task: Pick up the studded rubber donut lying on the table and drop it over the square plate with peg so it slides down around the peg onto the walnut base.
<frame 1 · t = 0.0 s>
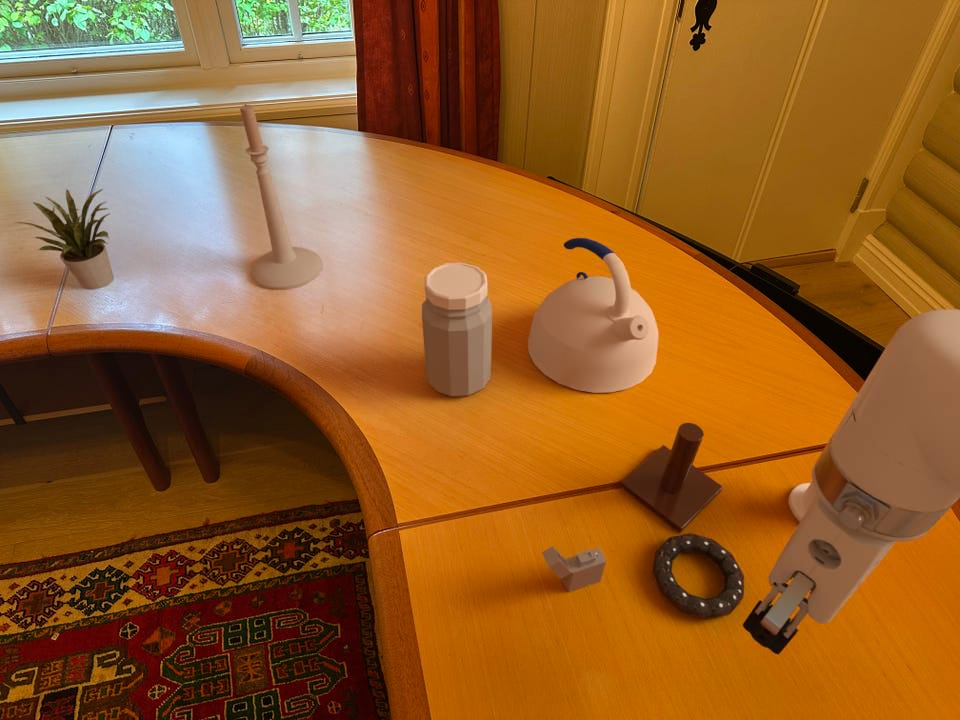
hand: (790, 600, 52), 13 cm above the table, tool pointing down, fingers open, 9 cm apart
house plant: (106, 279, 110), on the table
jar: (458, 379, 91), on the table
studded rubber donut: (697, 574, 67), point 1 cm above the table
square plate with peg: (670, 488, 76), on the table
kettle: (591, 350, 96), on the table
candlestick: (287, 270, 112), on the table
lighter: (569, 584, 67), on the table
candle: (818, 510, 74), on the table
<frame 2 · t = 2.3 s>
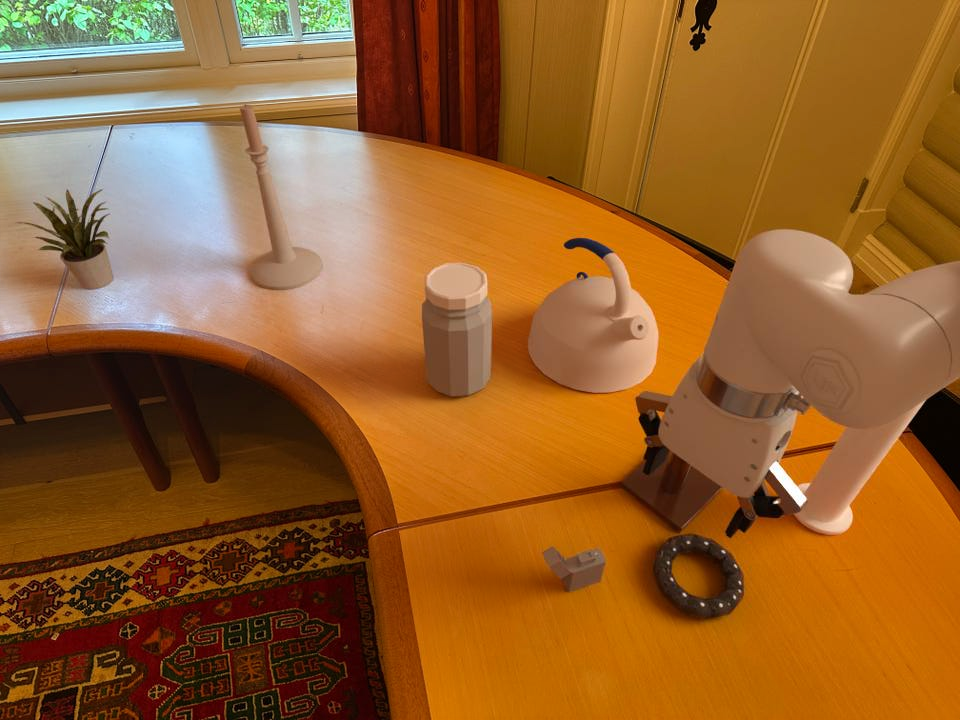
hand: (692, 496, 61), 12 cm above the table, tool pointing down, fingers open, 9 cm apart
nothing on the table moved.
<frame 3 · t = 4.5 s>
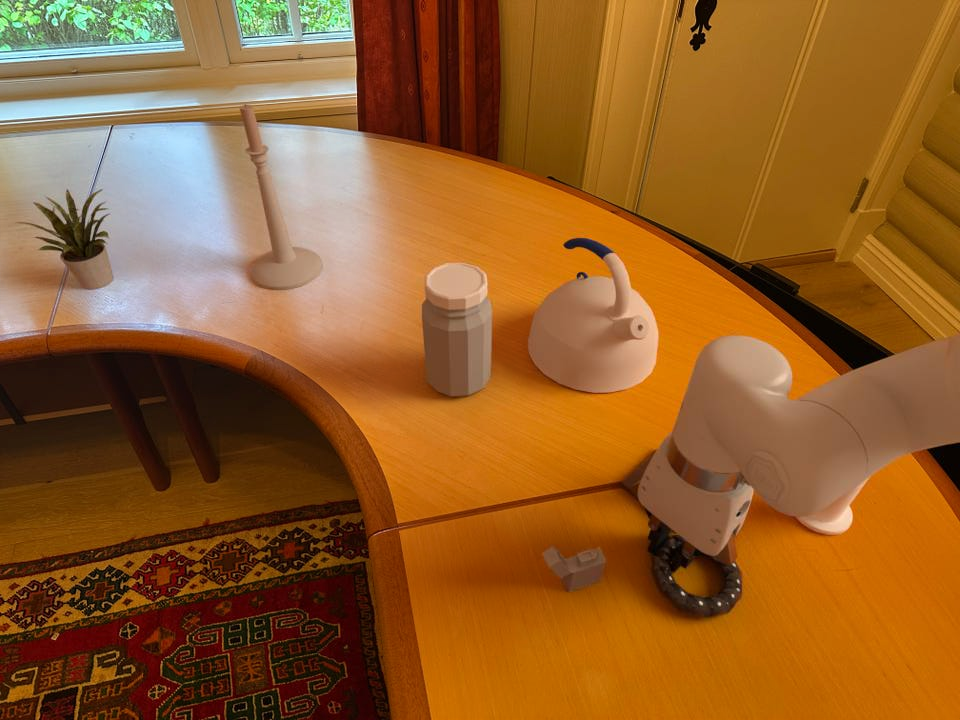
hand: (667, 553, 69), 0 cm above the table, tool pointing down, fingers closed on studded rubber donut, 2 cm apart
studded rubber donut: (696, 573, 67), point 1 cm above the table, touching gripper
everything else where it was.
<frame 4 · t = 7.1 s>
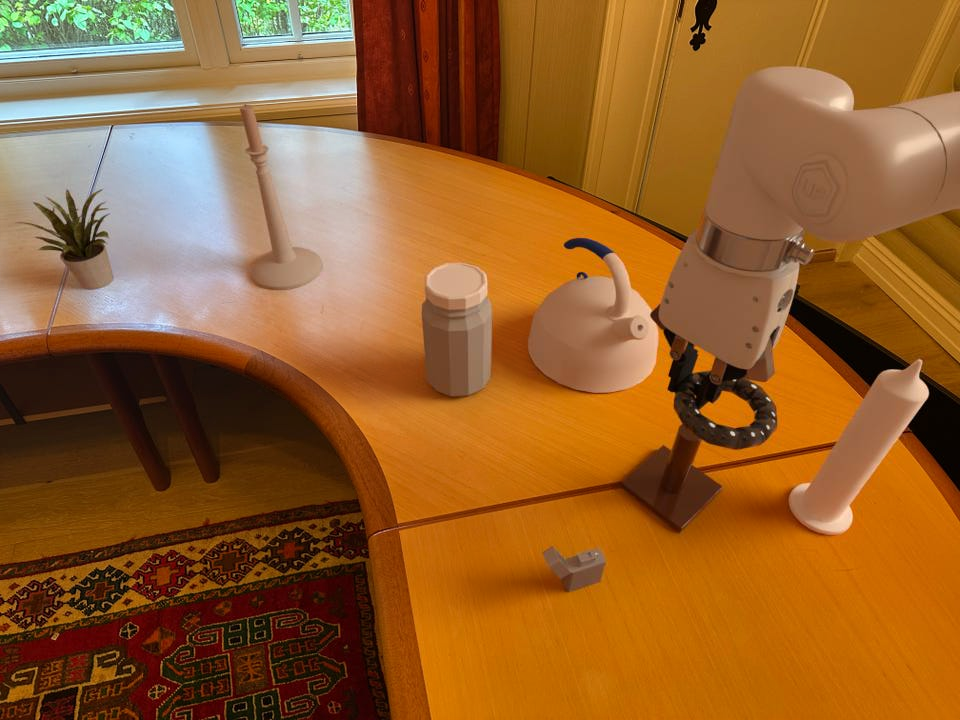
hand: (691, 392, 62), 20 cm above the table, tool pointing down, fingers closed on studded rubber donut, 2 cm apart
studded rubber donut: (724, 407, 59), point 20 cm above the table, touching gripper
everything else where it was.
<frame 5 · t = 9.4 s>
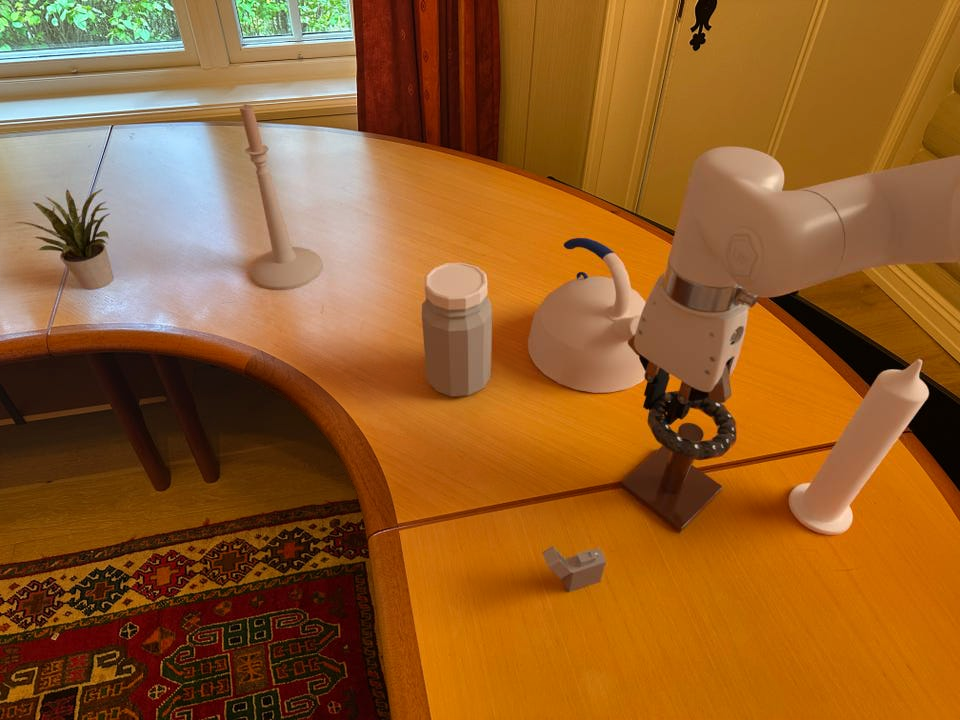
hand: (663, 409, 71), 12 cm above the table, tool pointing down, fingers closed on studded rubber donut
studded rubber donut: (691, 423, 68), point 12 cm above the table, touching gripper
everything else where it was.
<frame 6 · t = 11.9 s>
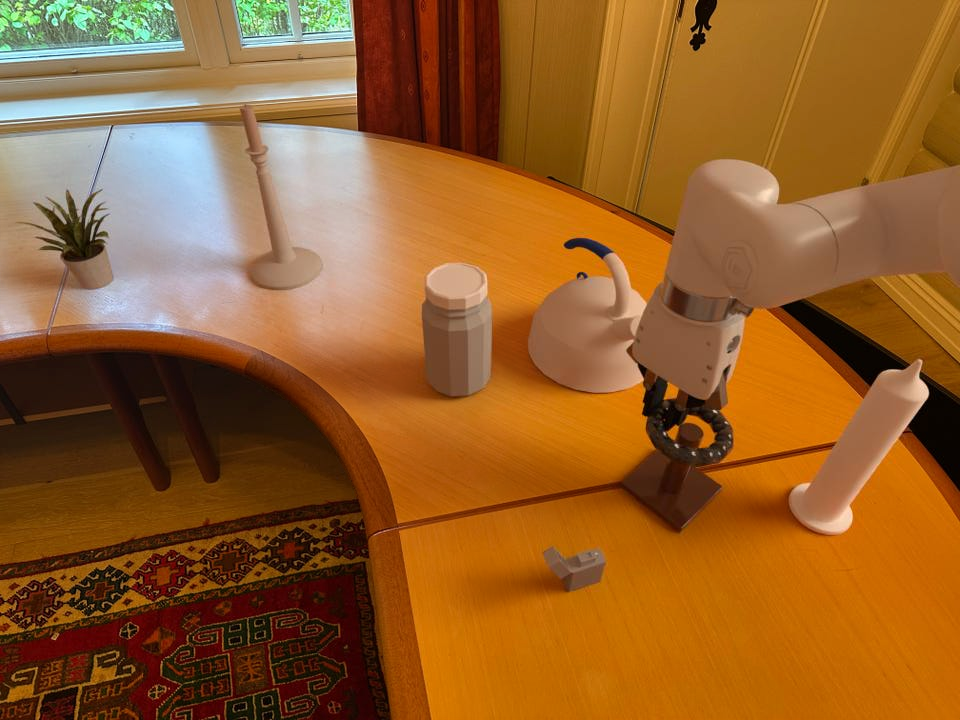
hand: (661, 416, 71), 10 cm above the table, tool pointing down, fingers closed on studded rubber donut
studded rubber donut: (689, 430, 69), point 11 cm above the table, touching gripper
everything else where it was.
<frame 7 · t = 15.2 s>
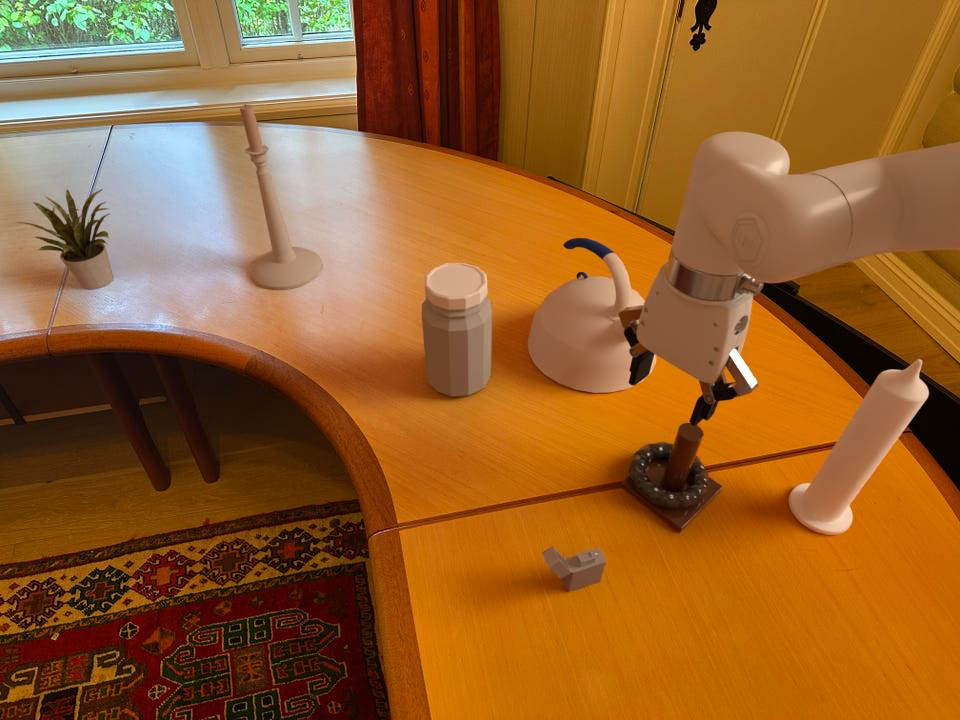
hand: (668, 397, 69), 14 cm above the table, tool pointing down, fingers open, 7 cm apart
studded rubber donut: (668, 474, 76), point 2 cm above the table, touching square plate with peg
everything else where it was.
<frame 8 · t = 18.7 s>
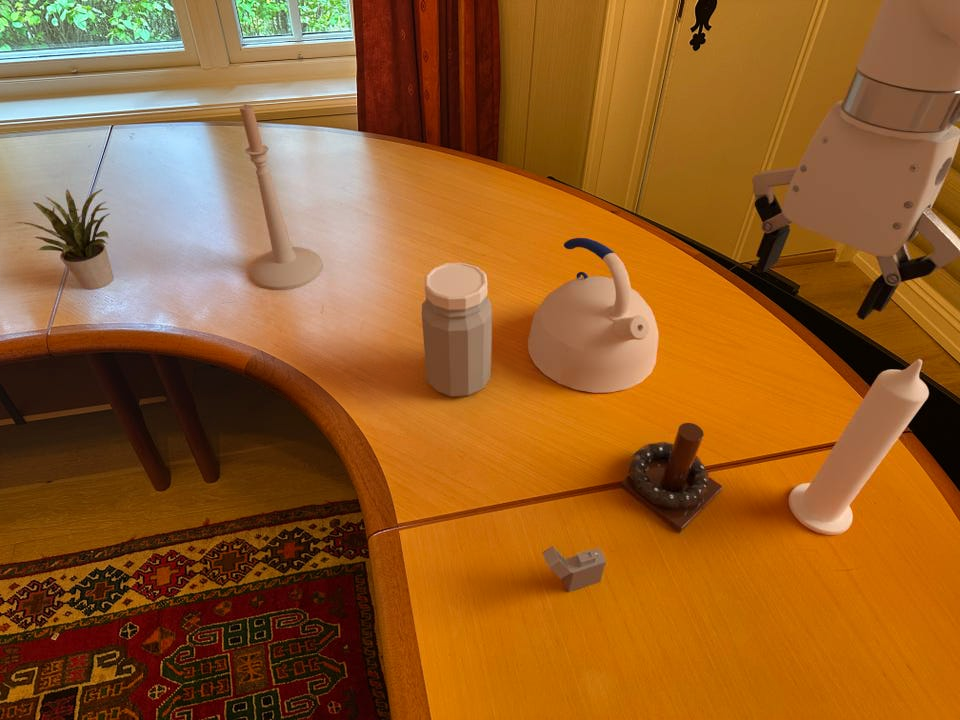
hand: (813, 288, 57), 30 cm above the table, tool pointing down, fingers open, 9 cm apart
nothing on the table moved.
at the end: studded rubber donut 0.9 cm from the square plate with peg (horizontally); studded rubber donut point 2.0 cm above the table; the gripper is holding nothing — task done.
